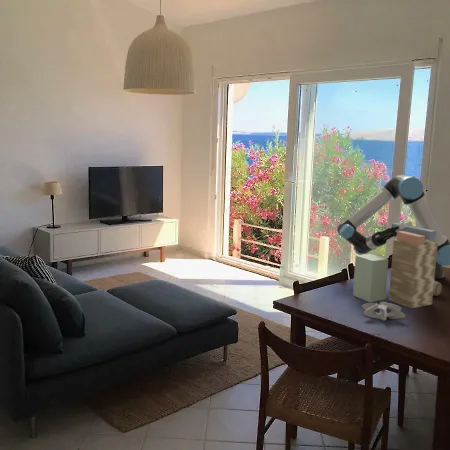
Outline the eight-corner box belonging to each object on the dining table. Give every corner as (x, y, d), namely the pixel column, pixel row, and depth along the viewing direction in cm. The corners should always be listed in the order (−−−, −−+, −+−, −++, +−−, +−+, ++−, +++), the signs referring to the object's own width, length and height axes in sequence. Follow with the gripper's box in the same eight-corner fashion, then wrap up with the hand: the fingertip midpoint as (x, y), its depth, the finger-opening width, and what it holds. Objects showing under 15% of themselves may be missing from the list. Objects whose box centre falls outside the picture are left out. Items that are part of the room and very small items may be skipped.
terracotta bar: (396, 239, 253) (397, 231, 252) (402, 239, 255) (403, 231, 254) (417, 245, 242) (418, 236, 241) (424, 244, 244) (424, 235, 243)
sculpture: (369, 307, 246) (370, 294, 245) (411, 317, 234) (413, 304, 233) (352, 317, 233) (353, 303, 232) (396, 328, 221) (397, 314, 219)
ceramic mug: (436, 297, 263) (437, 282, 262) (420, 294, 268) (421, 279, 267) (444, 293, 271) (445, 279, 269) (428, 290, 276) (429, 276, 275)
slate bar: (391, 231, 265) (391, 223, 264) (397, 230, 267) (397, 222, 266) (429, 240, 244) (430, 231, 244) (435, 239, 246) (436, 230, 245)
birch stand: (409, 296, 265) (414, 237, 259) (432, 304, 253) (437, 243, 247) (388, 299, 258) (393, 239, 253) (411, 308, 246) (416, 245, 241)
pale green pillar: (352, 295, 264) (355, 255, 260) (368, 292, 269) (370, 253, 265) (369, 302, 254) (372, 260, 250) (385, 299, 258) (388, 258, 255)
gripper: (390, 245, 280) (422, 230, 261) (366, 248, 272) (397, 233, 253) (386, 232, 282) (417, 216, 263) (362, 234, 275) (392, 218, 255)
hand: (407, 224), depth 258 cm, fingers closed on slate bar, 4 cm apart
